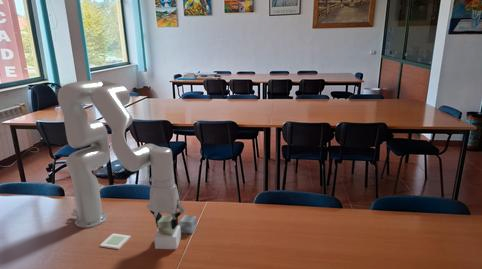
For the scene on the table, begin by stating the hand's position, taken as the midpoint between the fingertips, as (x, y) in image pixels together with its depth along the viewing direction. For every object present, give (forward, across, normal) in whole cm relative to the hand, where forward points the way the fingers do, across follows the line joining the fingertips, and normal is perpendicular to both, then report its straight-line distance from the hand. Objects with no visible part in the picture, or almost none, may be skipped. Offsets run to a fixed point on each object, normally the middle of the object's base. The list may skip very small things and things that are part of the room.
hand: (167, 225), depth 122 cm
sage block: (+2, 0, 0) cm, 2 cm away
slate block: (+7, +4, +10) cm, 13 cm away
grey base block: (+7, 0, 0) cm, 7 cm away
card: (+7, -20, -4) cm, 22 cm away
